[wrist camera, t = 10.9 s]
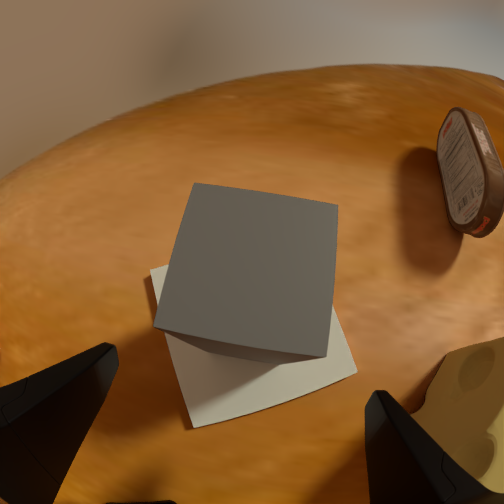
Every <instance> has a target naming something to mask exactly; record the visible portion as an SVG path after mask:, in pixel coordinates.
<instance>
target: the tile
mask: <svg viewBox="0 0 504 504" xmlns="http://www.w3.org/2000/svg"><path fill="white" fill-rule="evenodd" d="M168 266H169V264H168V265H165V266H162V267H158V268H155V269H152V270H150V272H151V277H152V281H153V286H154V291H155V295H156V300H157V304H159V300H160V296H161V292H162V288H163V284H164V280H165V277H166V273H167V269H168ZM164 333H165V332H164ZM165 336H166V340H167V344H168V348H169V351H170V355H171V358H172V362H173V365H174V369H175V372H176V375H177V379H178V382H179V385H180V388H181V391H182V394H183V398H184V401H185V404H186V407H187V410H188V412H189V415H190V418H191V421H192V424H193V427H194V428H196V427H200V426H204V425H209V424H213V423H217V422H221V421H224V420H228V419H232V418H235V417H239V416H242V415H246V414H249V413H253V412H256V411H259V410H262V409H265V408H268V407H271V406H274V405H277V404H280V403H283V402H286V401H289V400H291V399H294V398H297V397H300V396H302V395H305V394H307V393H310V392H313V391H315V390H318V389H320V388H322V387H325V386H327V385H330V384H332V383H334V382H337V381H339V380H341V379H343V378H346V377H348V376H350V375H352V374H354V373H357V372H358V371H357V368H356V366H355V363H354V360H353V357H352V355H351V352H350V349H349V347H348V344H347V341H346V339H345V336H344V333H343V331H342V328H341V325H340V323H339V320H338V318H337V315H336V313H335V310H334V308H333V305H332V314H331V324H330V333H329V341H328V349H327V357H325V358H319V359H313V360H308V361H302V362H295V363H289V364H282V365H278V364H271V363H264V362H258V361H252V360H246V359H240V358H235V357H229V356H224V355H219V354H214V353H209V352H206V351H203V350H201V349H199V348H197V347H195V346H192V345H190V344H188V343H186V342H184V341H182V340H180V339H178V338H175V337H173V336H171V335H169V334H167V333H165Z"/></svg>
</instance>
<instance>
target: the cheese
mask: <svg viewBox="0 0 504 504" xmlns="http://www.w3.org/2000/svg"><path fill="white" fill-rule="evenodd" d="M410 416H411V417H412V418H413V419H414V420H415V421H416V422H417V423H418V424H419V425H420V426H421V427H422V428H423V429H424V430H425V431H426V432H427V433H428V434H429V435H430V436H431V437H432V438H433V439H434V440H435V441H436V442H437V443H438V444H439V445H440V446H441V447H442V449H443V450H444V451H445V452H446V453H447V454H448V455H449V456H450V457H451V458H452V459H453V460H454V461H455V462H456V463H457V464H459V465H460V466H461V467H462V468H463V469H464V470H465V471H467V472H468V473H469V474H470V475H471V476H473V477H474V478H475V479H476V480H477V481H479V482H480V483H481V484H482V485H484V486H485V487H486V488H488V489H489V490H491V491H494V492H497V493H504V337H501V338H498V339H495V340H491V341H487V342H482V343H478V344H474V345H470V346H466V347H463V348H460V349H457V350H454V351H451V352H449V353H448V354H447V355H446V357H445V359H444V361H443V363H442V364H441V366H440V368H439V370H438V371H437V373H436V375H435V377H434V379H433V380H432V382H431V384H430V385H429V387H428V389H427V392H426V396H425V403H424V404H423V406H422V407H421V408H420V410H418V411H417V412H416V413H412V414H410Z"/></svg>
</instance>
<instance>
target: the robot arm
mask: <svg viewBox="0 0 504 504" xmlns="http://www.w3.org/2000/svg"><path fill="white" fill-rule="evenodd" d="M118 366H119V360H118V355H117V349H116V346H115V345H113V344H110V343H107V342H104V343H101V344H99V345H97V346H95V347H93V348H91V349H88V350H86V351H84V352H82V353H80V354H77V355H75V356H73V357H71V358H69V359H66V360H64V361H62V362H60V363H57V364H55V365H53V366H51V367H49V368H46V369H44V370H42V371H40V372H37V373H35V374H33V375H30V376H29V377H26V378H24V379H21V380H19V381H16V382H14V383H12V384H9V385H6V386H3V387H0V504H53V502H54V500H55V498H56V495H57V493H58V491H59V489H60V487H61V486H60V485H61V484H62V482H63V480H64V478H65V476H66V474H67V472H68V470H69V468H70V466H71V464H72V462H73V460H74V458H75V456H76V454H77V452H78V450H79V448H80V446H81V444H82V442H83V440H84V438H85V436H86V434H87V432H88V430H89V429H90V427H91V425H92V423H93V421H94V419H95V417H96V415H97V414H98V412H99V410H100V408H101V406H102V404H103V402H104V400H105V398H106V396H107V393H108V391H109V388H110V386H111V384H112V381H113V379H114V376H115V374H116V372H117V369H118ZM365 452H366V461H367V471H368V483H369V495H370V504H504V493H497V492H494V491H491V490H489V489H488V488H486V487H485V486H484V485H482V484H481V483H480V482H479V481H477V480H476V479H475V478H474V477H473V476H471V475H470V474H469V473H468V472H467V471H465V470H464V469H463V468H462V467H461V466H460V465H459V464H457V463H456V462H455V461H454V460H453V459H452V458H451V457H450V456H449V455H448V454H447V453H446V452H445V451H444V450H443V449H442V447H441V446H440V445H439V444H438V443H437V442H436V441H435V440H434V439H433V438H432V437H431V436H430V435H429V434H428V433H427V432H426V431H425V430H424V429H423V428H422V427H421V426H420V425H419V424H418V423H417V422H416V421H415V420H414V419H413V418H412V417H411V416H410V414H409V413H408V412H407V411H406V410H405V409H404V408H403V407H402V406H401V405H400V404H399V403H398V402H397V401H396V400H395V399H394V398H393V397H392V396H391V395H390V394H389V393H388V392H387V391H386V390H375V391H374V392H373V394H372V395H371V397H370V399H369V401H368V402H367V404H366V406H365ZM106 504H176V503H175V502H174V501H171V500H167V501H155V502H136V503H106Z"/></svg>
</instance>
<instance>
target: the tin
mask: <svg viewBox="0 0 504 504" xmlns="http://www.w3.org/2000/svg"><path fill="white" fill-rule="evenodd" d="M437 160H438V165H439V170H440V175H441V180H442V185H443V190H444V196H445V202H446V209H447V214H448V218H449V221H450V223H451V224H452V226H453V227H454V228H455V229H456V230H458V231H460V232H462V233H465V234H469V235H471V236H473V237H476V238H482V237H485V236H487V235H489V234H490V233H491V232H492V231H493V230H494V229H495V228H496V226H497V225H498V223H499V221H500V219H501V217H502V215H503V212H504V170H503V167H502V164H501V162H500V159H499V156H498V154H497V151H496V149H495V146H494V144H493V141H492V139H491V136H490V134H489V132H488V129H487V127H486V125H485V123H484V120H483V119H482V117H481V116H480V115H479V114H477V113H475V112H471V111H469V110H466V109H464V108H461V107H454V108H452V109H451V110H450V111H449V113H448V114H447V116H446V118H445V120H444V122H443V124H442V126H441V128H440V130H439V134H438V139H437Z"/></svg>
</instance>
